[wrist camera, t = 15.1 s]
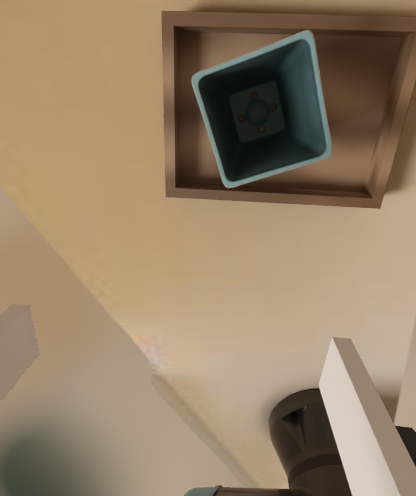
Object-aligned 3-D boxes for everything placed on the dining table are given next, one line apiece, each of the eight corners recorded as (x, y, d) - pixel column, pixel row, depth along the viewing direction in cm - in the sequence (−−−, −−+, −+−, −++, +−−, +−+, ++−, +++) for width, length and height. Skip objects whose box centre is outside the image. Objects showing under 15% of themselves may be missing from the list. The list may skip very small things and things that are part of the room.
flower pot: (227, 169, 34) (224, 190, 26) (200, 82, 31) (188, 75, 22) (309, 143, 32) (334, 157, 24) (290, 47, 29) (313, 26, 21)
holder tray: (366, 198, 35) (380, 208, 32) (171, 188, 36) (165, 196, 33) (410, 26, 28) (433, 16, 25) (169, 20, 30) (161, 10, 26)
